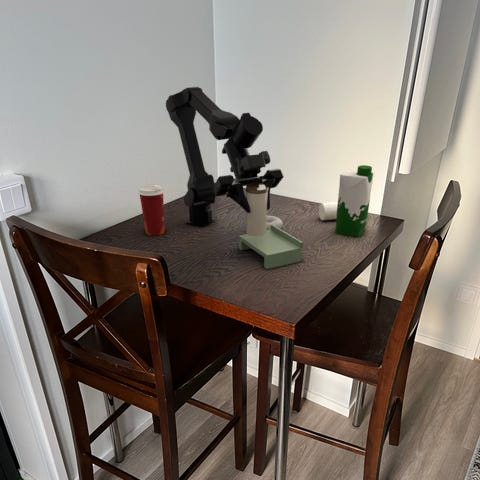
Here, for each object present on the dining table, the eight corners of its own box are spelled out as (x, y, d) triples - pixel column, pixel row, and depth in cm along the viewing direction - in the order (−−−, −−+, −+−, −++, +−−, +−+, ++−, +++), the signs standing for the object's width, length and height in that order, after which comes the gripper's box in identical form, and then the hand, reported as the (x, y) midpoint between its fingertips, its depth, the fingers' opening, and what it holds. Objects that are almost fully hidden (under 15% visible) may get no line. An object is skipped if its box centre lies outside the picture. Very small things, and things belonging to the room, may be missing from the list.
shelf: (238, 248, 140) (238, 230, 137) (271, 241, 144) (272, 224, 142) (266, 269, 128) (267, 249, 125) (301, 261, 132) (303, 242, 129)
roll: (358, 220, 160) (360, 203, 157) (323, 222, 158) (325, 206, 156) (351, 214, 165) (353, 198, 162) (318, 216, 163) (319, 200, 161)
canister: (241, 234, 131) (241, 188, 124) (251, 227, 135) (252, 182, 129) (261, 238, 129) (262, 191, 122) (270, 231, 133) (271, 185, 127)
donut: (248, 234, 150) (280, 236, 148) (248, 223, 148) (280, 225, 147) (253, 223, 159) (284, 224, 157) (253, 213, 157) (284, 214, 155)
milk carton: (359, 238, 146) (368, 171, 136) (331, 233, 150) (337, 167, 140) (368, 229, 153) (377, 164, 142) (341, 224, 157) (347, 161, 146)
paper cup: (172, 232, 152) (169, 187, 145) (153, 238, 147) (148, 192, 140) (156, 226, 156) (152, 182, 149) (137, 232, 152) (132, 187, 144)
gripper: (216, 143, 119) (237, 200, 117) (281, 137, 127) (302, 190, 124) (205, 169, 129) (223, 221, 127) (265, 161, 137) (284, 211, 134)
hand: (259, 210), depth 127 cm, fingers closed on canister, 5 cm apart
